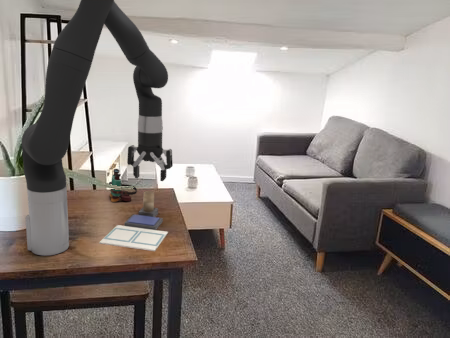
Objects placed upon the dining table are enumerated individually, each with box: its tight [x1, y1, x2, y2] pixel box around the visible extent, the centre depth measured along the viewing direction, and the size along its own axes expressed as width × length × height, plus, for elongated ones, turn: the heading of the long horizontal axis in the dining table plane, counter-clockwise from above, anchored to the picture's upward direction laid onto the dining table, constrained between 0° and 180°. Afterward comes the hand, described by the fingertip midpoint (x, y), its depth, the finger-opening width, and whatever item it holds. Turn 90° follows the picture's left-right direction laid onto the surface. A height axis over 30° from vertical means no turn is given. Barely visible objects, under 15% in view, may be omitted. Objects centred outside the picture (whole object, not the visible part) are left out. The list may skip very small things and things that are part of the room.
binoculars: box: [108, 168, 138, 203], centre depth 142 cm, size 9×11×10 cm
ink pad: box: [123, 213, 164, 230], centre depth 123 cm, size 10×7×2 cm
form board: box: [99, 224, 169, 252], centre depth 114 cm, size 16×12×1 cm
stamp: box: [138, 190, 159, 217], centre depth 129 cm, size 5×5×8 cm
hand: (149, 179), depth 127 cm, fingers open, 8 cm apart
